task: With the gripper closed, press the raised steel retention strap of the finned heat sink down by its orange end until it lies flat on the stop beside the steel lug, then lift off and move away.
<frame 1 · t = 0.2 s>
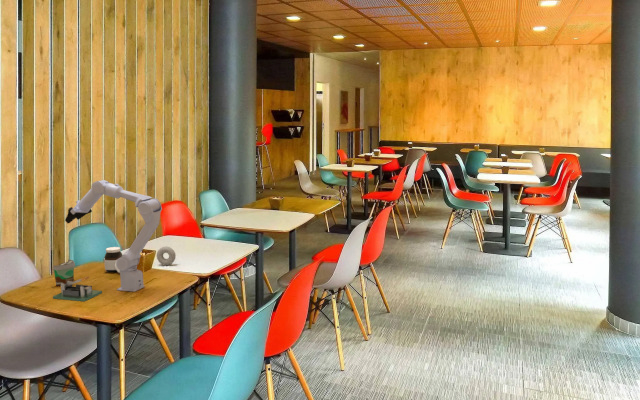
hand: (71, 219, 274), 31 cm above the table, tool tilted 45°, fingers open, 7 cm apart
spread jar: (117, 271, 301), on the table
strap: (76, 281, 261), point 6 cm above the table, hinge at 20.0°
food container: (68, 283, 281), on the table
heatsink: (67, 294, 263), on the table
donut: (166, 265, 312), on the table
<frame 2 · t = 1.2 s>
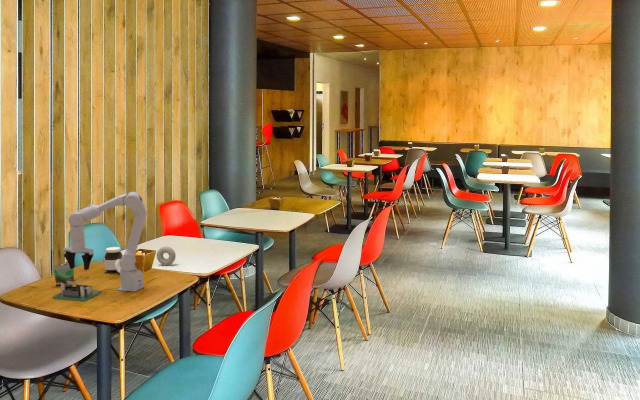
hand: (79, 269, 266), 11 cm above the table, tool pointing down, fingers open, 7 cm apart
nothing on the table moved.
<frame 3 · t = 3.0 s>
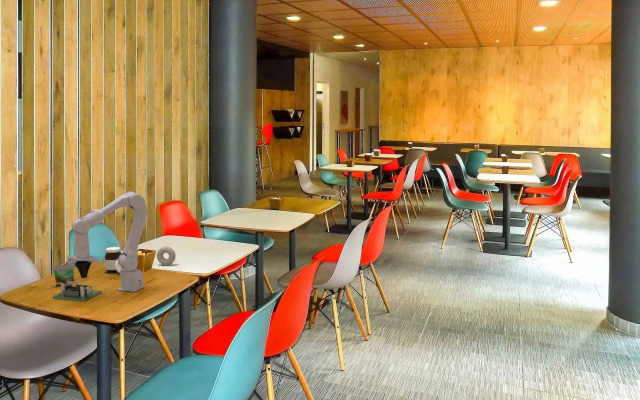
hand: (84, 277, 260), 8 cm above the table, tool pointing down, fingers closed
strap: (76, 281, 261), point 6 cm above the table, hinge at 20.0°, touching gripper
everything else where it was.
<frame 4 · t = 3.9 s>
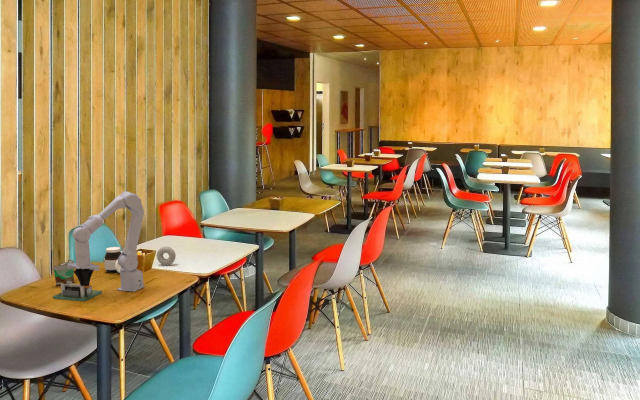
hand: (84, 285, 260), 5 cm above the table, tool pointing down, fingers closed on strap, 2 cm apart
strap: (77, 285, 261), point 5 cm above the table, hinge at 1.1°, touching gripper
everything else where it was.
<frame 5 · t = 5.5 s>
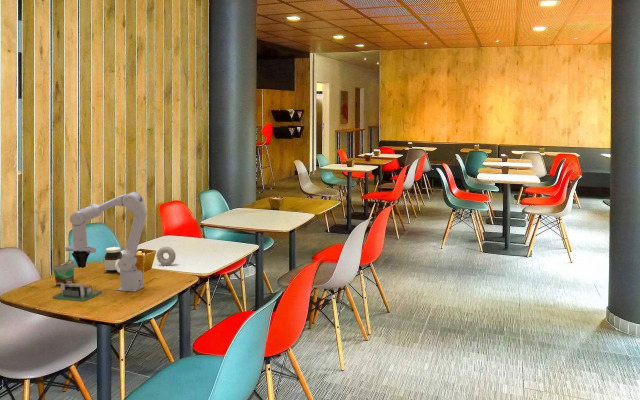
hand: (81, 267, 269), 10 cm above the table, tool pointing down, fingers closed
strap: (77, 285, 261), point 5 cm above the table, hinge at 0.9°
everything else where it was.
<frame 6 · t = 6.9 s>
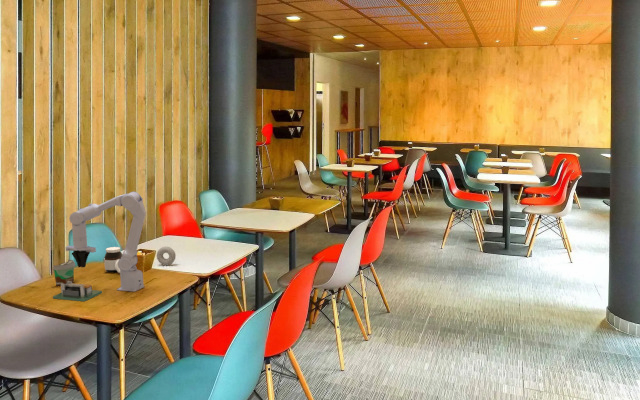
hand: (81, 266, 270), 10 cm above the table, tool pointing down, fingers closed
nothing on the table moved.
at the end: strap at +1° (first picture: +20°) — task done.
